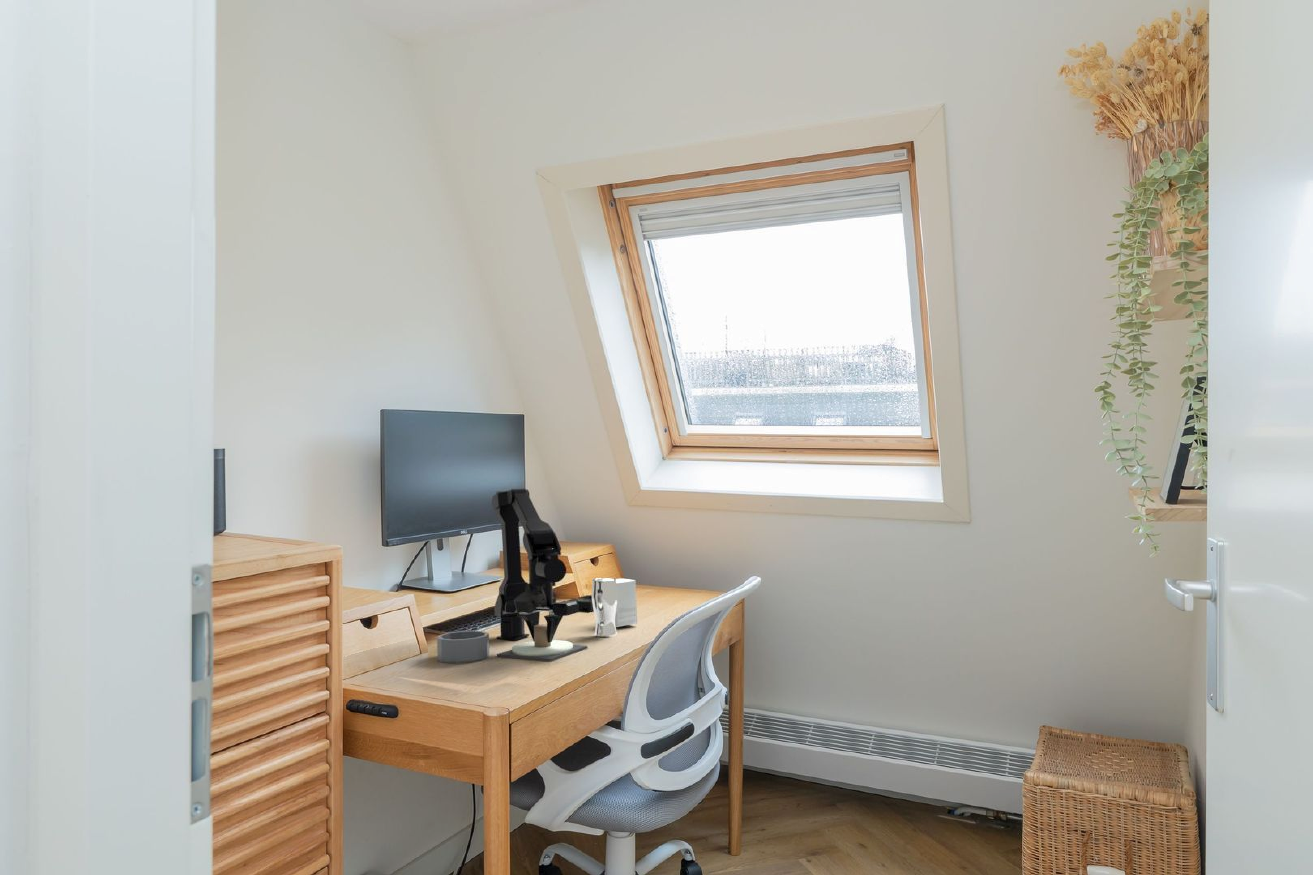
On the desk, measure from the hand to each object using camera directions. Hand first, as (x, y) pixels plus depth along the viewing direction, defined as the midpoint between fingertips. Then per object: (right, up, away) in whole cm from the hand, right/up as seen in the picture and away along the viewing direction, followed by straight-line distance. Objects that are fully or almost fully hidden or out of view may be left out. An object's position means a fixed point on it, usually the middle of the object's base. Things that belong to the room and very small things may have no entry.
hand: (542, 641), depth 225 cm
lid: (0, -2, 0) cm, 2 cm away
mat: (0, -3, 0) cm, 3 cm away
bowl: (-19, -3, -4) cm, 19 cm away
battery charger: (+7, -5, +65) cm, 66 cm away
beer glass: (+15, -3, +21) cm, 25 cm away
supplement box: (+18, -3, +37) cm, 41 cm away
